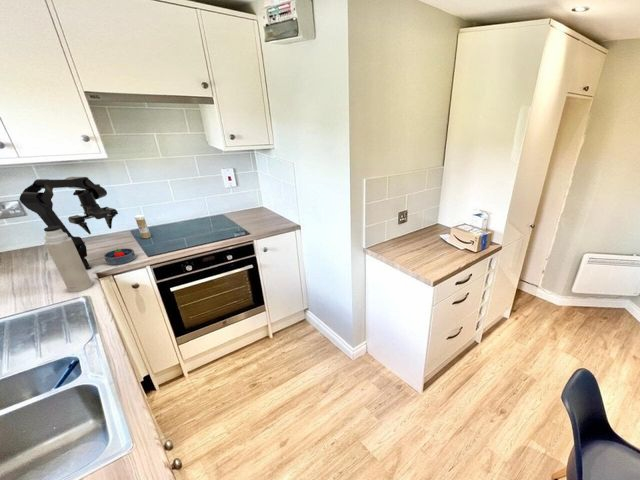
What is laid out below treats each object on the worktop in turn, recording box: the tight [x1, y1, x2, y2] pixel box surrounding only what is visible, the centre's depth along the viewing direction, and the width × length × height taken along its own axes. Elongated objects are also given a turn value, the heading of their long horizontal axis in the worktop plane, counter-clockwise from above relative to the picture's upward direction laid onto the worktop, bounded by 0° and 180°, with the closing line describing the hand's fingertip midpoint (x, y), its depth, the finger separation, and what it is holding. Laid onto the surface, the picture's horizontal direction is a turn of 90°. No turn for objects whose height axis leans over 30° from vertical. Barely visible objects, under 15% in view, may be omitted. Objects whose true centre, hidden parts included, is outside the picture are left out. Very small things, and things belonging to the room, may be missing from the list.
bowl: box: [102, 247, 137, 266], centre depth 165 cm, size 12×12×4 cm
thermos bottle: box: [43, 226, 93, 293], centre depth 135 cm, size 8×8×28 cm
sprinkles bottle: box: [134, 214, 152, 239], centre depth 190 cm, size 5×5×14 cm
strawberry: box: [114, 248, 125, 258], centre depth 164 cm, size 4×4×6 cm
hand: (100, 231), depth 168 cm, fingers open, 9 cm apart
